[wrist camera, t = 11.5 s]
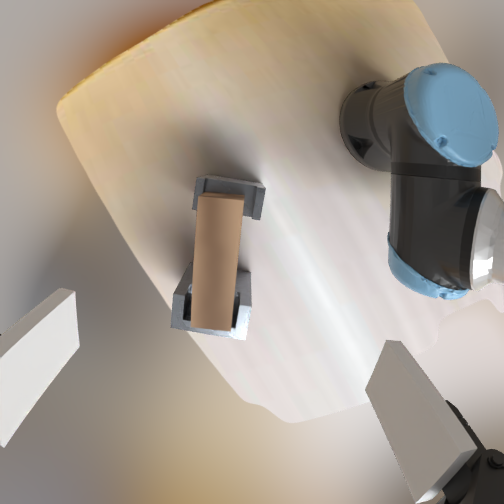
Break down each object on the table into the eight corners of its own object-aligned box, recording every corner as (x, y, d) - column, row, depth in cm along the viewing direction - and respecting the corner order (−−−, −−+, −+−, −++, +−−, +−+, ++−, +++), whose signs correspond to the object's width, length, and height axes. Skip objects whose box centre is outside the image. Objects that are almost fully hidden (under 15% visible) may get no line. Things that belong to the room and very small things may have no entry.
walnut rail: (244, 195, 40) (244, 200, 34) (232, 310, 44) (230, 331, 38) (205, 191, 40) (198, 196, 34) (197, 306, 44) (190, 327, 38)
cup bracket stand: (266, 184, 48) (273, 191, 36) (245, 299, 53) (245, 339, 41) (202, 173, 48) (186, 177, 35) (187, 290, 53) (170, 327, 40)
